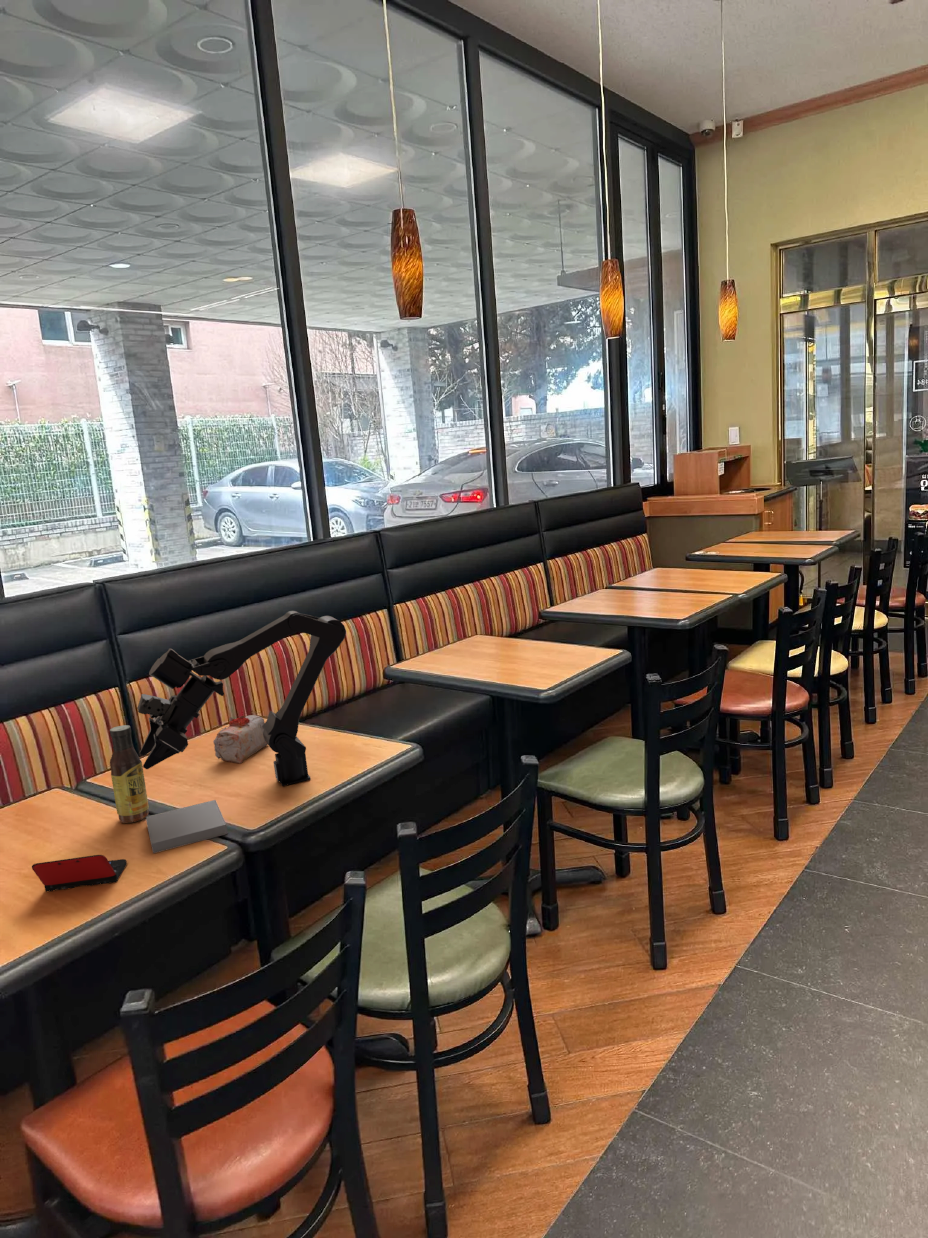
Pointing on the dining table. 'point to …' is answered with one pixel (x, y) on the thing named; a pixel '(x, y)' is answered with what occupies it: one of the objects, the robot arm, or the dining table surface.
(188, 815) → the stand
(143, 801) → the sauce bottle
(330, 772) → the dining table surface
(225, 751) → the food item
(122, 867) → the handheld game console
